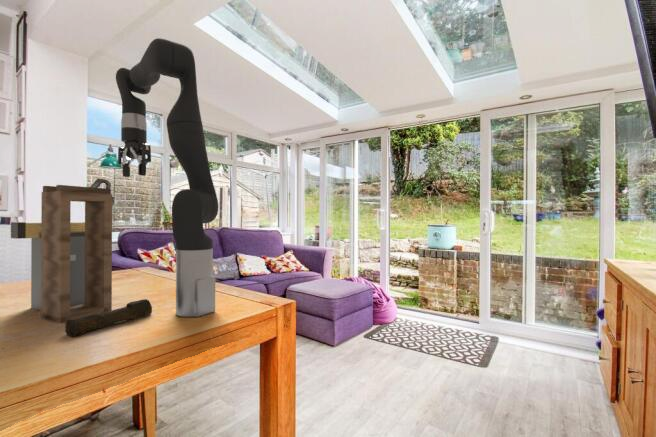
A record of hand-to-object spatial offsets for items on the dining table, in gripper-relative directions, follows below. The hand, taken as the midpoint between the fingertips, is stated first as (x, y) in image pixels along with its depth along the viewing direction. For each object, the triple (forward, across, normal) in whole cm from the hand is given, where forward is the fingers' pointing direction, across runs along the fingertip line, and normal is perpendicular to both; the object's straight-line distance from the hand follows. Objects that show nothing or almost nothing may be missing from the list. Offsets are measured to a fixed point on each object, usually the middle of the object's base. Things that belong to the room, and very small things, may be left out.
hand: (134, 176), depth 112 cm
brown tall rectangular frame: (+40, +12, -23) cm, 48 cm away
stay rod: (+20, -2, -19) cm, 28 cm away
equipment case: (+40, -2, -20) cm, 45 cm away
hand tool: (+40, +28, -24) cm, 55 cm away
